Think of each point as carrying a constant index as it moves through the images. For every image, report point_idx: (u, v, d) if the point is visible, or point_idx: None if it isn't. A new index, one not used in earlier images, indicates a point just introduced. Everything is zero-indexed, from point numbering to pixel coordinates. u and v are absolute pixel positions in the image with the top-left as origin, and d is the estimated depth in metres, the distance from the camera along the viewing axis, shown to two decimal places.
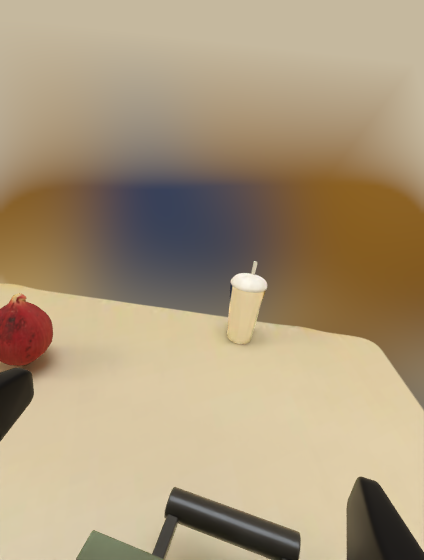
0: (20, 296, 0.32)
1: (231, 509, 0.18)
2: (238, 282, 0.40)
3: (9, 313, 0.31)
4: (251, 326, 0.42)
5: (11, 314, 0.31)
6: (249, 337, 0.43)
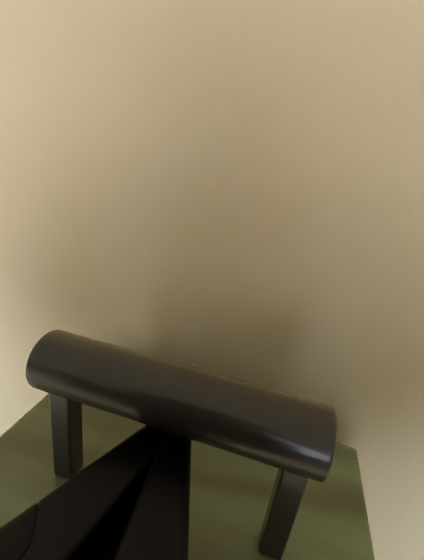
0: None
1: (159, 401, 0.07)
2: None
3: None
4: None
5: None
6: None
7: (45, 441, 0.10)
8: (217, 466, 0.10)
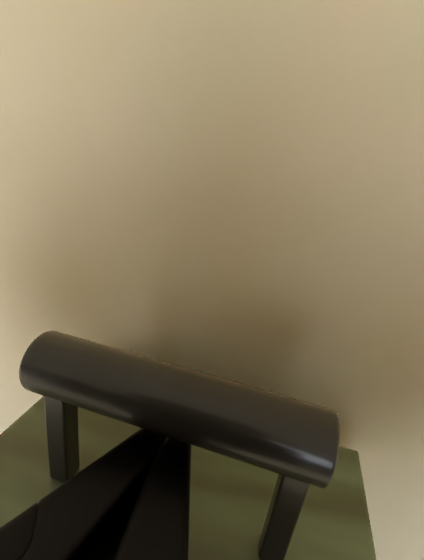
0: None
1: (155, 404, 0.07)
2: None
3: None
4: None
5: None
6: None
7: (41, 443, 0.10)
8: (217, 469, 0.10)
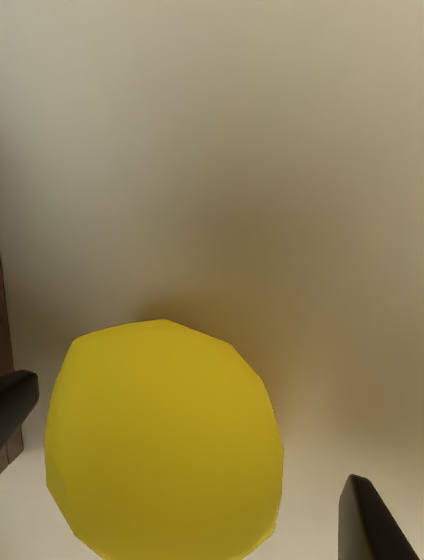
0: None
1: None
2: None
3: None
4: None
5: None
6: None
7: None
8: None
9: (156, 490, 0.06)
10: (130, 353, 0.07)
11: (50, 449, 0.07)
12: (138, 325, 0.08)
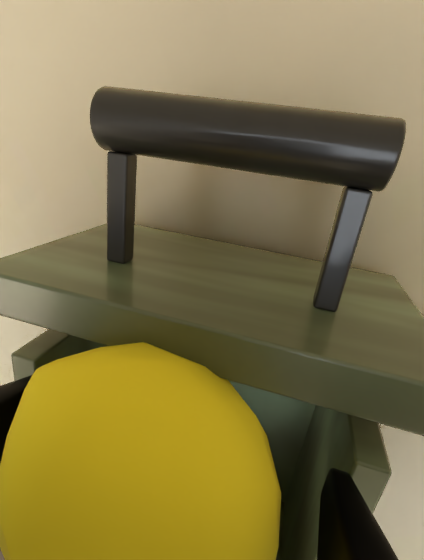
0: None
1: (226, 115, 0.07)
2: None
3: None
4: None
5: None
6: None
7: (93, 247, 0.11)
8: (263, 271, 0.11)
9: None
10: (96, 393, 0.06)
11: None
12: (110, 352, 0.07)
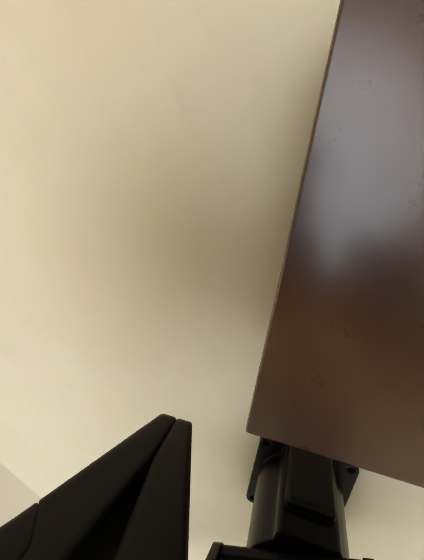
0: None
1: None
2: None
3: None
4: None
5: None
6: None
7: None
8: None
9: None
10: None
11: None
12: None
